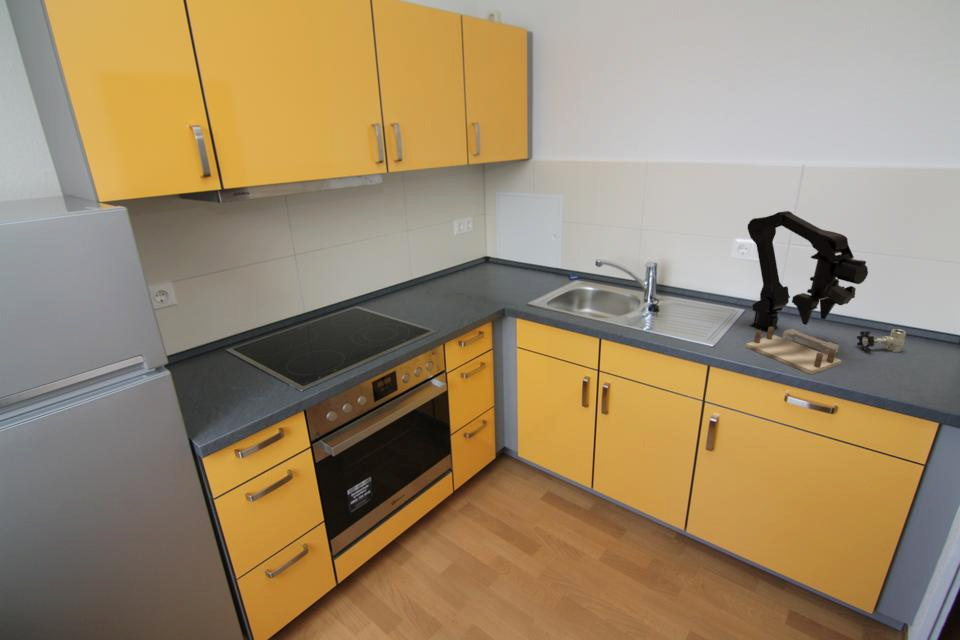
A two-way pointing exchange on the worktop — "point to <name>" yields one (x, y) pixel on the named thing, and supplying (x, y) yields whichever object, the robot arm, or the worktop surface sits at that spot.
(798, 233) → the robot arm
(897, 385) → the worktop surface
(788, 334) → the beige stepped post
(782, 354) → the peg board
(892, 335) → the valve
